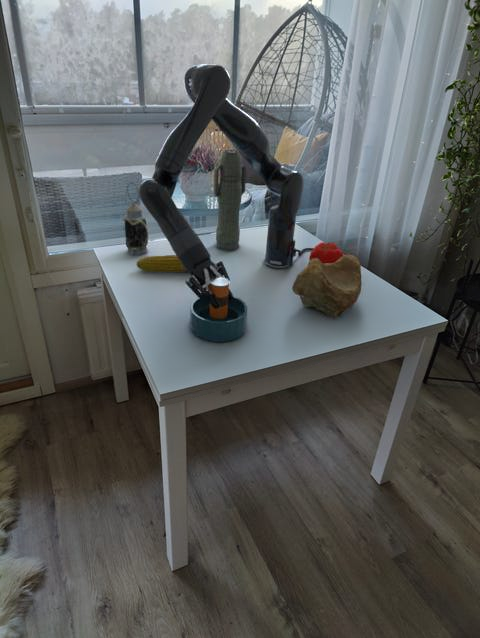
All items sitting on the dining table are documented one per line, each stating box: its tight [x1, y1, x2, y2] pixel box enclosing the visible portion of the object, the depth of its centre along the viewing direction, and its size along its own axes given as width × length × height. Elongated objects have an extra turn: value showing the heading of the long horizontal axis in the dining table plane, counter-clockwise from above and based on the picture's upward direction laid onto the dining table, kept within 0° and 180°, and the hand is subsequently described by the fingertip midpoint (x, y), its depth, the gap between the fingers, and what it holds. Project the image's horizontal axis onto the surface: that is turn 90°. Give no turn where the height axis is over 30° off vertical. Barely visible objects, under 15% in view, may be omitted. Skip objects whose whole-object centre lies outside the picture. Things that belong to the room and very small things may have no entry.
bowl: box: [189, 295, 248, 343], centre depth 121 cm, size 15×15×6 cm
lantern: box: [122, 182, 149, 256], centre depth 156 cm, size 9×8×25 cm
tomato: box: [308, 241, 345, 264], centre depth 155 cm, size 11×12×9 cm
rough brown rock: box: [291, 253, 362, 319], centre depth 131 cm, size 23×17×15 cm
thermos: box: [213, 149, 247, 252], centre depth 162 cm, size 9×12×35 cm
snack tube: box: [210, 276, 230, 319], centre depth 117 cm, size 5×5×10 cm
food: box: [136, 254, 187, 273], centre depth 148 cm, size 21×6×6 cm, turn 98°
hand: (224, 303), depth 117 cm, fingers closed on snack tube, 5 cm apart
